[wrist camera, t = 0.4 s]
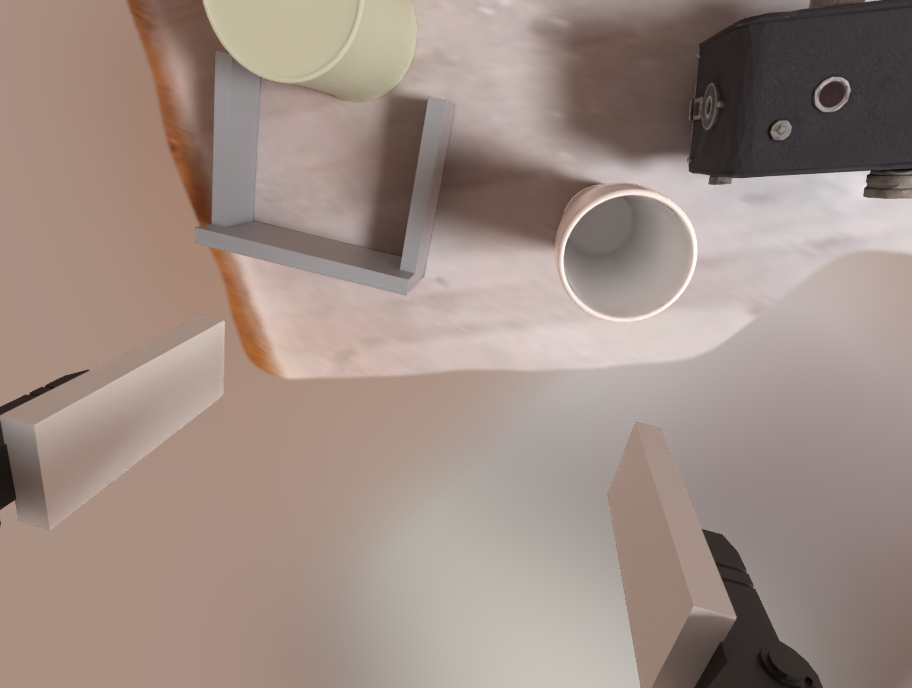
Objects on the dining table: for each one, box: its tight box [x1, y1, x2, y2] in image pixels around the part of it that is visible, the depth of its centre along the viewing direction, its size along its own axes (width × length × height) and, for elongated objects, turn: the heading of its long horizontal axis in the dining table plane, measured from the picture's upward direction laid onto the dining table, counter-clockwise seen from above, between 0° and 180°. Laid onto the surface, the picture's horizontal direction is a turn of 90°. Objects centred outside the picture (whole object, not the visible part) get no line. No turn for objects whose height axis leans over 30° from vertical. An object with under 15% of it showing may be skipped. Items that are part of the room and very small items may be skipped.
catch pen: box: [195, 50, 456, 295], centre depth 38 cm, size 13×16×6 cm
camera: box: [687, 0, 912, 199], centre depth 30 cm, size 11×11×15 cm
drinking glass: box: [555, 183, 697, 322], centre depth 32 cm, size 7×7×15 cm
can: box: [202, 0, 417, 102], centre depth 32 cm, size 9×9×12 cm
